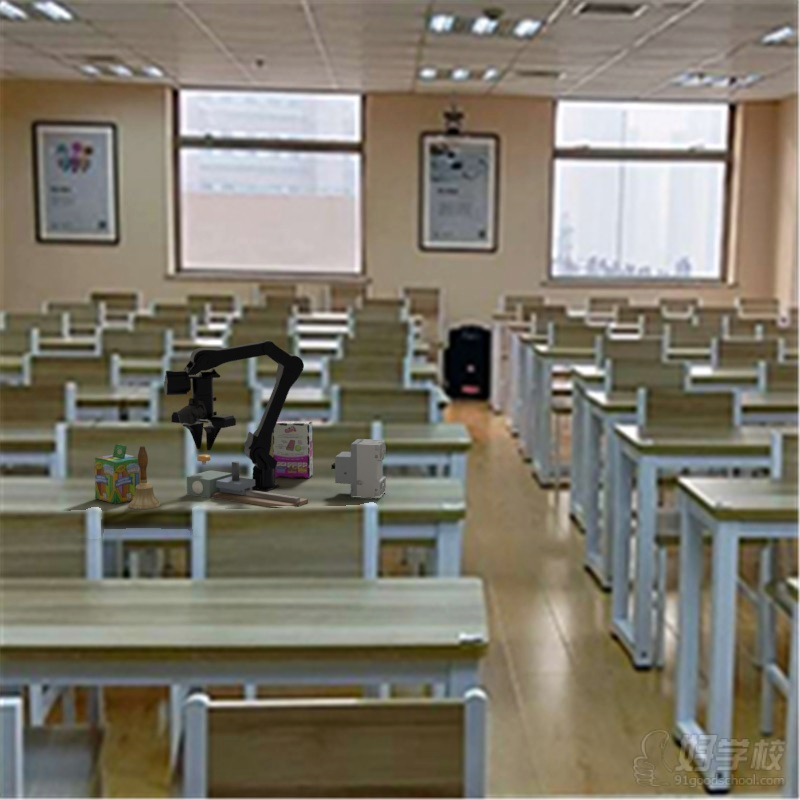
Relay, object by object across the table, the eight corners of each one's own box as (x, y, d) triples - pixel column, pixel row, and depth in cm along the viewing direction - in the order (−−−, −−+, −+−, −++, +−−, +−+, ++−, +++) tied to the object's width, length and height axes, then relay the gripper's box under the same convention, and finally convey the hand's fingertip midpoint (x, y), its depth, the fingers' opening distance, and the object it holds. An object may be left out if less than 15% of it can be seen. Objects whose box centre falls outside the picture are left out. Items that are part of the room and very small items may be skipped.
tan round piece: (203, 462, 328) (202, 454, 328) (213, 463, 326) (213, 455, 326) (194, 464, 325) (194, 456, 325) (204, 466, 323) (204, 457, 323)
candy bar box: (313, 475, 350) (313, 421, 347) (309, 478, 345) (309, 423, 343) (276, 473, 351) (276, 419, 349) (272, 477, 346) (272, 422, 344)
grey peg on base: (232, 487, 326) (231, 458, 325) (255, 491, 322) (255, 461, 321) (216, 492, 320) (215, 462, 319) (239, 496, 316) (239, 466, 315)
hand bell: (152, 510, 306) (151, 450, 303) (123, 508, 307) (121, 448, 305) (165, 502, 314) (164, 444, 311) (136, 501, 315) (134, 443, 313)
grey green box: (210, 487, 332) (210, 470, 331) (232, 490, 328) (232, 473, 328) (186, 494, 323) (185, 476, 323) (208, 498, 319) (208, 480, 319)
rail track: (231, 491, 328) (231, 483, 327) (308, 502, 315) (308, 494, 315) (210, 497, 320) (210, 489, 320) (288, 509, 307) (288, 501, 307)
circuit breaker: (336, 490, 330) (336, 437, 328) (385, 492, 327) (385, 440, 325) (329, 496, 323) (329, 442, 321) (379, 498, 320) (379, 445, 318)
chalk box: (94, 499, 317) (92, 445, 315) (122, 493, 324) (120, 441, 322) (115, 504, 311) (113, 450, 309) (143, 498, 318) (142, 445, 316)
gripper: (157, 394, 321) (158, 450, 323) (210, 400, 311) (211, 457, 314) (184, 390, 330) (185, 444, 332) (236, 395, 321) (237, 451, 323)
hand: (203, 449), depth 325 cm, fingers open, 3 cm apart
